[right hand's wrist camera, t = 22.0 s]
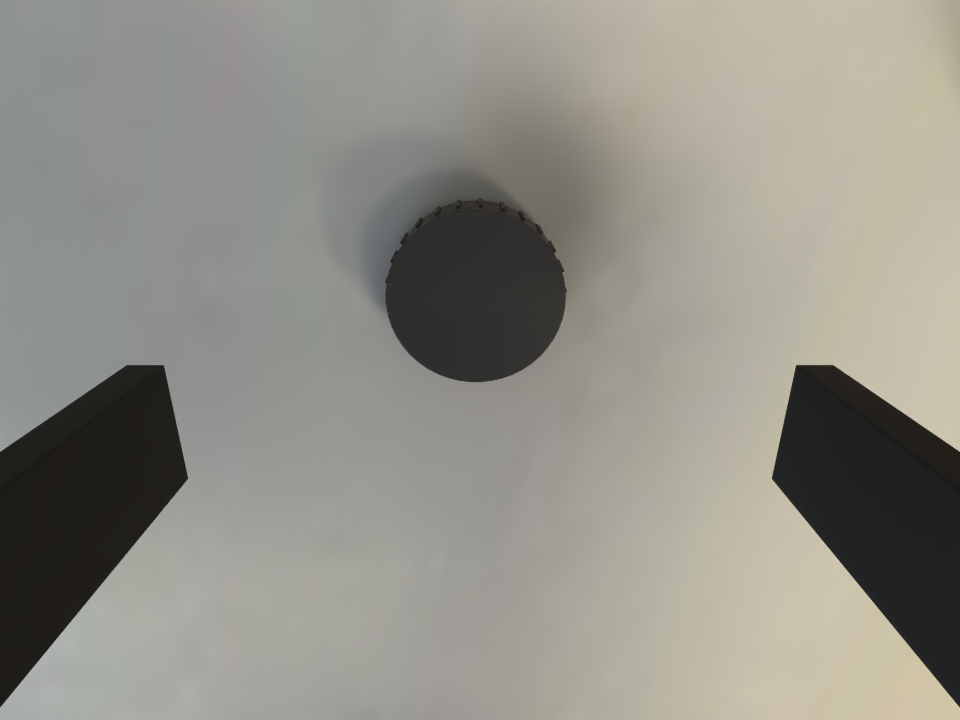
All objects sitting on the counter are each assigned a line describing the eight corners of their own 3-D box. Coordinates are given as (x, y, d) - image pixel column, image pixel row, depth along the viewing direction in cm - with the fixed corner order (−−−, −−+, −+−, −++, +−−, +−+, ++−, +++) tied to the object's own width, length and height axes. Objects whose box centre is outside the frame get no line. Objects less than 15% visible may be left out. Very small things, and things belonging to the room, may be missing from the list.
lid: (547, 182, 18) (554, 189, 16) (570, 348, 20) (578, 368, 18) (371, 216, 18) (361, 227, 16) (412, 375, 20) (407, 398, 19)
